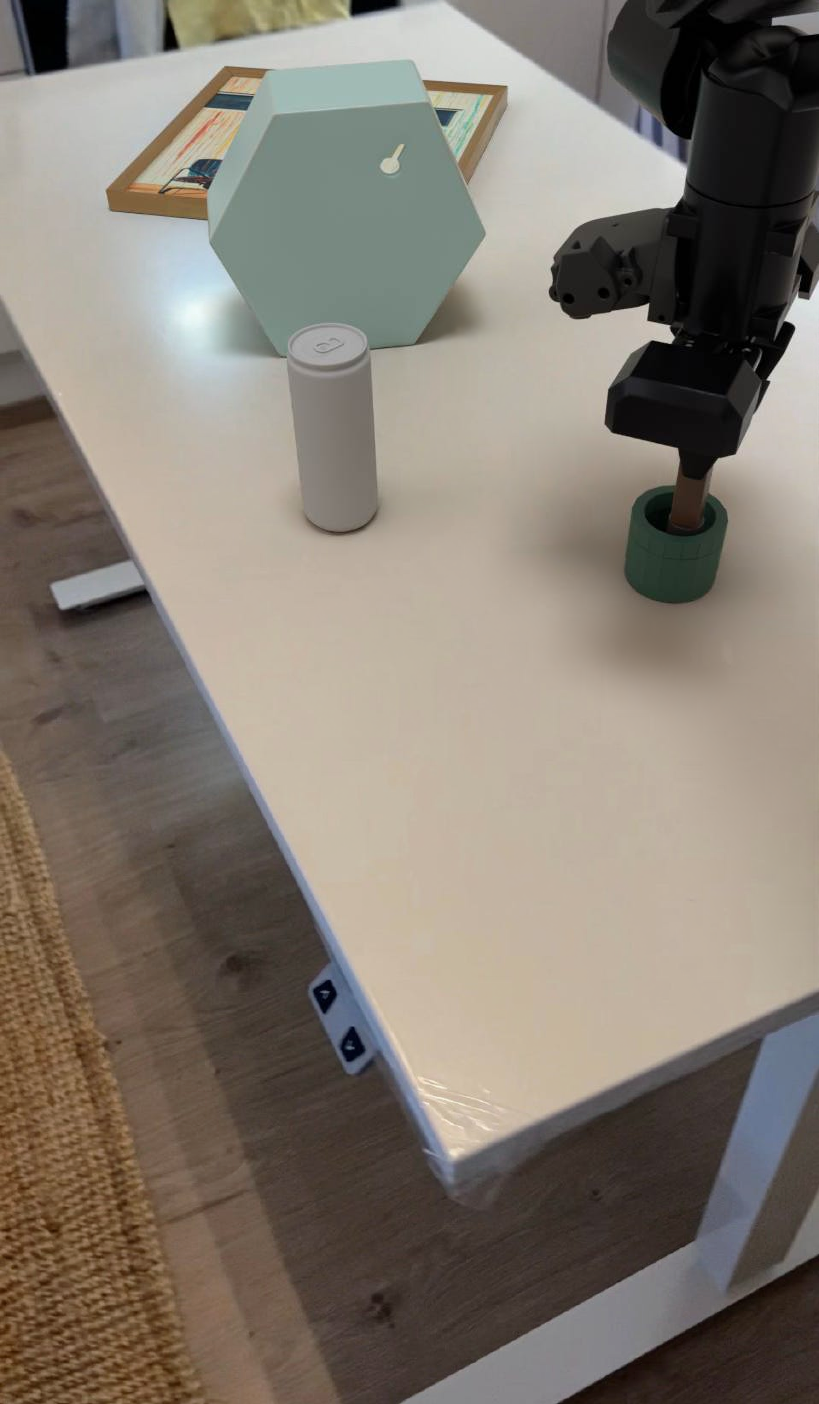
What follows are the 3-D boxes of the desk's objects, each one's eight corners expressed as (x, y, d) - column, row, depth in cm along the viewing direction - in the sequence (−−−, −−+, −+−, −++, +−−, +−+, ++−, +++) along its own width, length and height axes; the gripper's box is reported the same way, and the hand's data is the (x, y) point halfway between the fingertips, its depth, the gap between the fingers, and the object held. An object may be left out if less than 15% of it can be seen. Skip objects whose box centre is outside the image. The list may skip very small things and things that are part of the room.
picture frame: (105, 189, 105) (224, 65, 125) (109, 210, 107) (227, 84, 126) (438, 220, 100) (507, 85, 119) (438, 242, 101) (507, 105, 121)
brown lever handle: (699, 559, 70) (738, 364, 61) (689, 580, 69) (727, 383, 60) (666, 551, 71) (699, 356, 61) (656, 571, 70) (688, 375, 60)
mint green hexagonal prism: (366, 349, 98) (509, 120, 86) (378, 401, 93) (532, 164, 81) (174, 257, 90) (304, -9, 78) (175, 308, 85) (314, 30, 73)
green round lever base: (725, 557, 72) (738, 497, 69) (700, 613, 69) (713, 553, 66) (639, 535, 74) (648, 475, 71) (611, 588, 71) (619, 529, 67)
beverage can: (288, 510, 76) (268, 341, 68) (348, 479, 78) (335, 312, 70) (334, 546, 74) (319, 376, 65) (394, 514, 76) (387, 344, 67)
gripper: (640, 83, 62) (611, 353, 73) (505, 237, 50) (495, 529, 62) (860, 114, 58) (793, 392, 70) (768, 287, 47) (706, 586, 58)
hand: (697, 467), depth 65 cm, fingers closed on brown lever handle, 2 cm apart
